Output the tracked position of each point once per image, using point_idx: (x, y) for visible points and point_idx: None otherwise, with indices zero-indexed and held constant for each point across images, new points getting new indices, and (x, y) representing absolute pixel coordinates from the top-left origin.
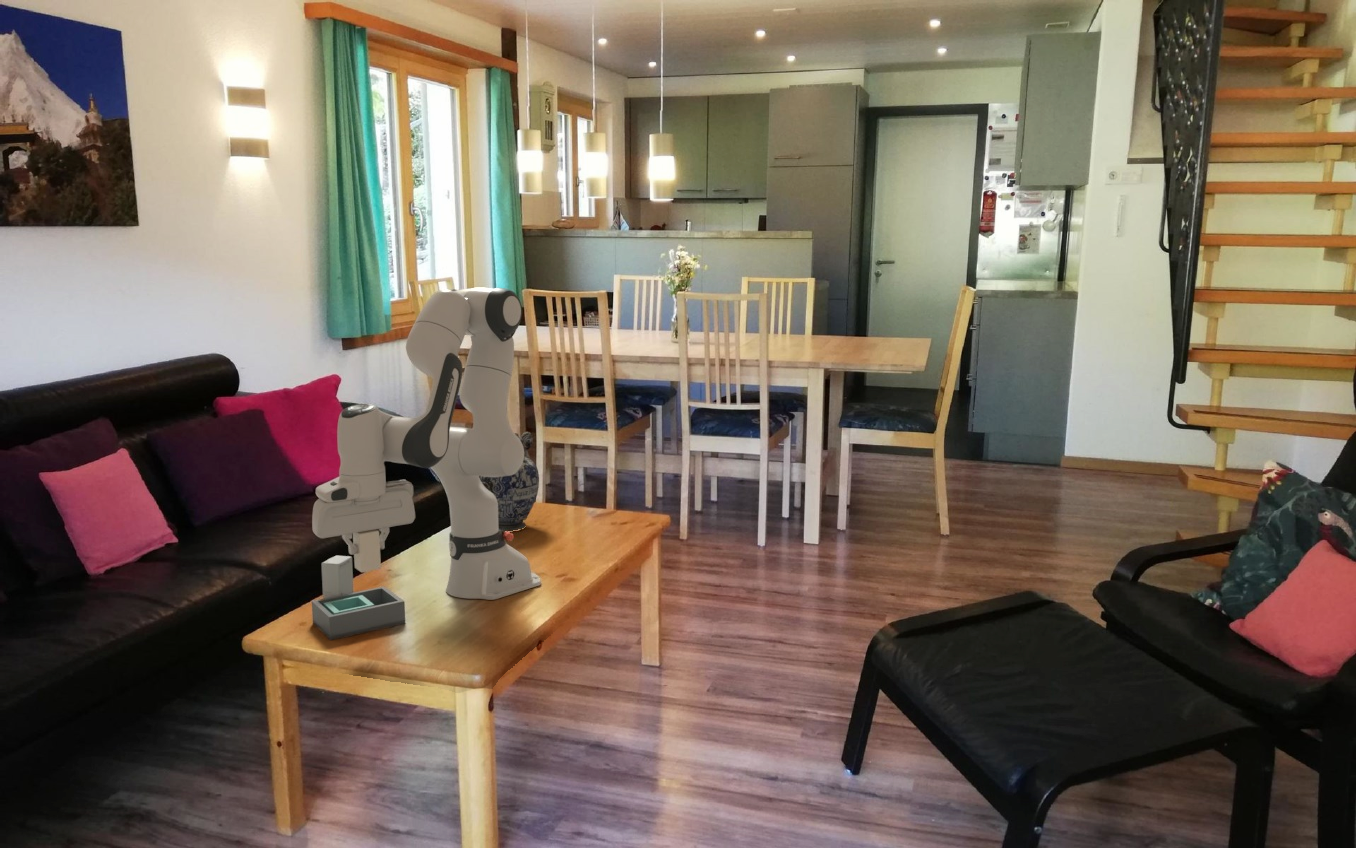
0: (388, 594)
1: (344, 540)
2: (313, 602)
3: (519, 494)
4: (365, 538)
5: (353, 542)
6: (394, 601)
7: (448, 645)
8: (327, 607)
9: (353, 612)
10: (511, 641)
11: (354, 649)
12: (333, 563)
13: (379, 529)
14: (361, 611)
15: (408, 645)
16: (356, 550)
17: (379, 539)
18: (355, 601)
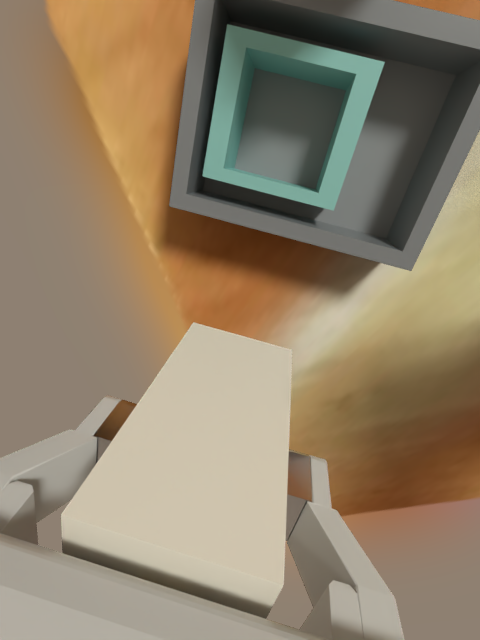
0: (448, 148)
1: (20, 455)
2: None
3: None
4: None
5: (130, 416)
6: (415, 213)
7: (342, 423)
8: (217, 87)
9: (243, 225)
10: (428, 493)
11: (204, 294)
12: None
13: (328, 599)
14: (268, 232)
15: (293, 365)
16: None
17: (300, 520)
18: (343, 74)
